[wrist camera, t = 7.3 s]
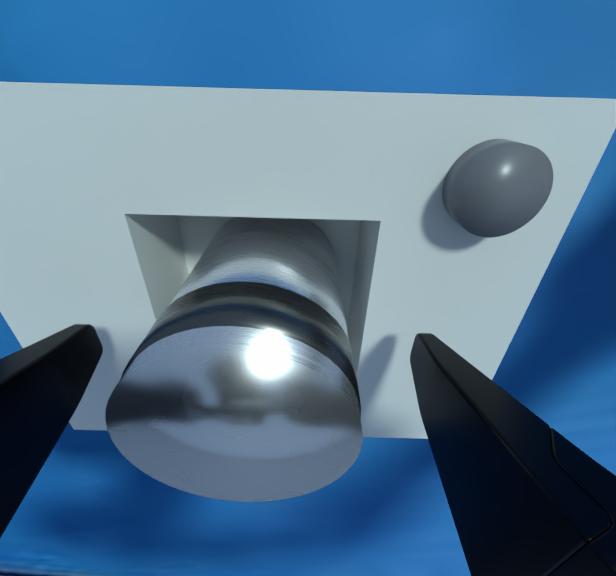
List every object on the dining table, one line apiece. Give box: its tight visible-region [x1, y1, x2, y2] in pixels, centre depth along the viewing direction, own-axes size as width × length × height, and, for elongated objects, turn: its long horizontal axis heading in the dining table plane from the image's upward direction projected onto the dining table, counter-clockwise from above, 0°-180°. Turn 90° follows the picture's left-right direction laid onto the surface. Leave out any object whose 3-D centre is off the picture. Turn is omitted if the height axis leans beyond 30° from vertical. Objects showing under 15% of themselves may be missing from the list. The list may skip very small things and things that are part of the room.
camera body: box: [0, 82, 616, 439], centre depth 11 cm, size 16×12×6 cm
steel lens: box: [105, 217, 363, 502], centre depth 9 cm, size 5×5×7 cm
